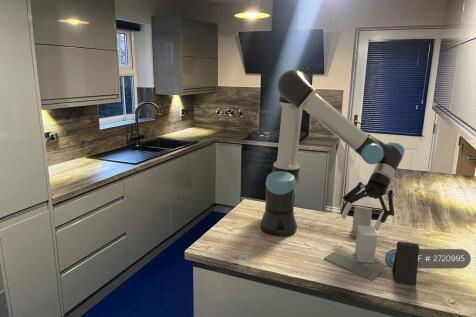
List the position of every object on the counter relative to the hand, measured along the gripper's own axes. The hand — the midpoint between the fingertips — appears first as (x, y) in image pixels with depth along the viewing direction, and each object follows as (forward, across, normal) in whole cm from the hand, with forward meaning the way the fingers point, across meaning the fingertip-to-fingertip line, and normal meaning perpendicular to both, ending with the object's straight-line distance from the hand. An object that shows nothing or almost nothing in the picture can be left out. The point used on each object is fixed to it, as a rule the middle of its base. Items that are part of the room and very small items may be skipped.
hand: (358, 223), depth 136 cm
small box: (+11, -7, -2) cm, 13 cm away
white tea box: (-3, +5, -16) cm, 17 cm away
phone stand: (+13, -22, 0) cm, 25 cm away
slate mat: (+17, -7, +5) cm, 19 cm away
